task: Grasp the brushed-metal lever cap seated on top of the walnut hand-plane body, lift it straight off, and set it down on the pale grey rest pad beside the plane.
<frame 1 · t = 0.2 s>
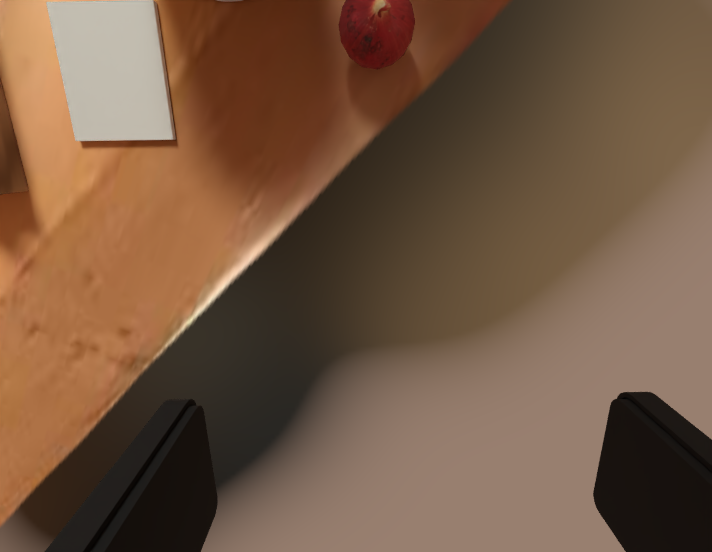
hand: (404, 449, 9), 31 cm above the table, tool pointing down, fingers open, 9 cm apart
onion: (374, 40, 34), on the table
rest pad: (116, 75, 35), on the table
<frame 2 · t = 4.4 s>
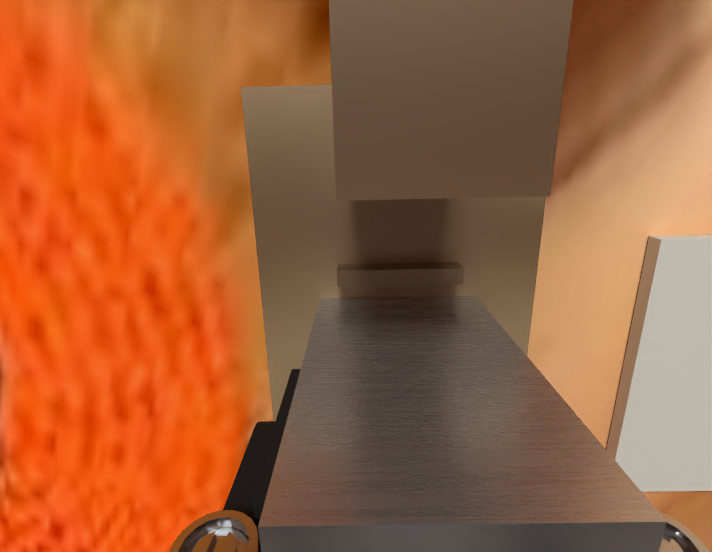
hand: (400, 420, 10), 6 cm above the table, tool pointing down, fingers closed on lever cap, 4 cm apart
plane body: (385, 374, 16), on the table
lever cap: (396, 397, 11), point 4 cm above the table, touching gripper, plane body
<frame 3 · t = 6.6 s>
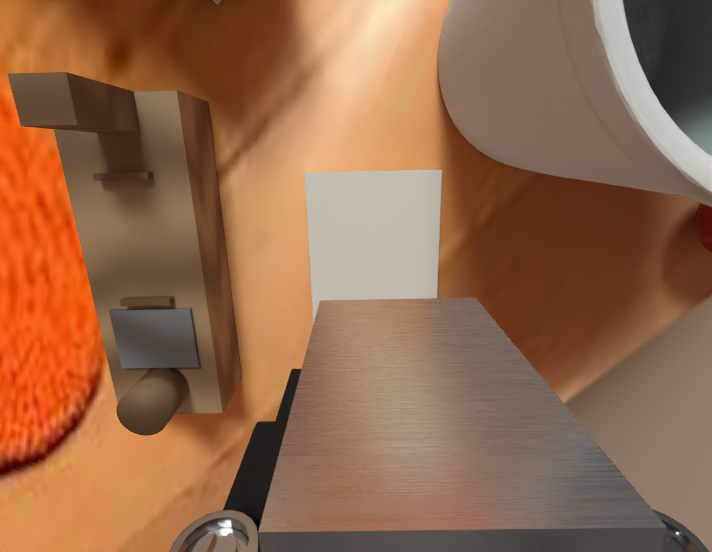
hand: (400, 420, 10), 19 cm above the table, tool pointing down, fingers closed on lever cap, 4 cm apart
utensil holder: (548, 59, 24), on the table
onion: (706, 209, 27), on the table
plane body: (177, 254, 28), on the table
rest pad: (373, 251, 28), on the table
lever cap: (396, 399, 11), point 18 cm above the table, touching gripper
when the fingers open (3 cm above the table, at t = 9.2 s): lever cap drops 1 cm, resting on rest pad.
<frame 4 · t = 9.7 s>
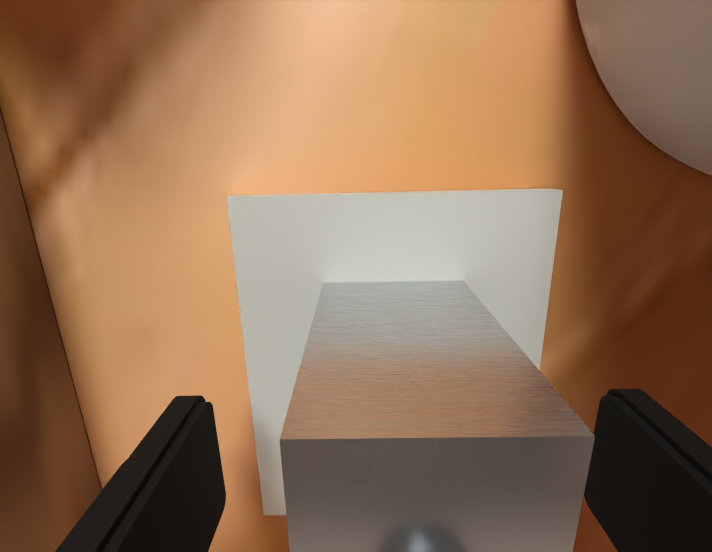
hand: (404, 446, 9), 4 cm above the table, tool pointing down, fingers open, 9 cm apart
rest pad: (391, 365, 13), on the table
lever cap: (391, 374, 12), point 1 cm above the table, touching rest pad
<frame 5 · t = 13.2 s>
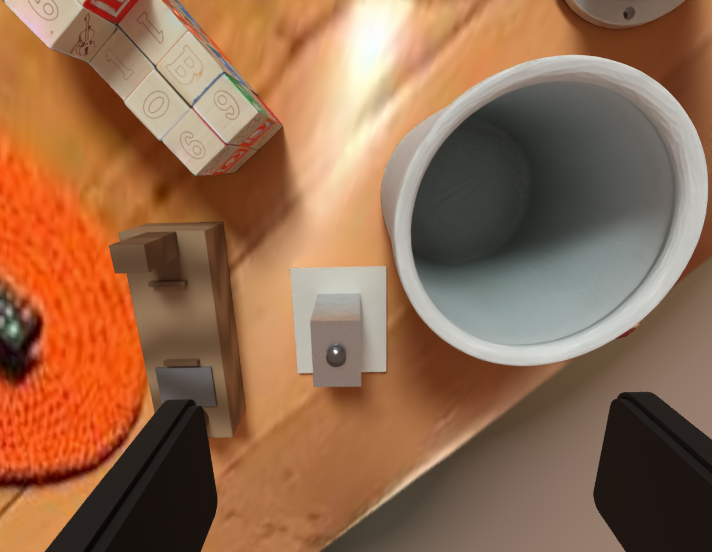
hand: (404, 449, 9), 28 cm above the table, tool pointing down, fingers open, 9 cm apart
utensil holder: (457, 194, 35), on the table
stack of blocks: (169, 46, 32), on the table
plane body: (199, 322, 39), on the table
rest pad: (340, 320, 39), on the table
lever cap: (339, 322, 38), point 1 cm above the table, touching rest pad
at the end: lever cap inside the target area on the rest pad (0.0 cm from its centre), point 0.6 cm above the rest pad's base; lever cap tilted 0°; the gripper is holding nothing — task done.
